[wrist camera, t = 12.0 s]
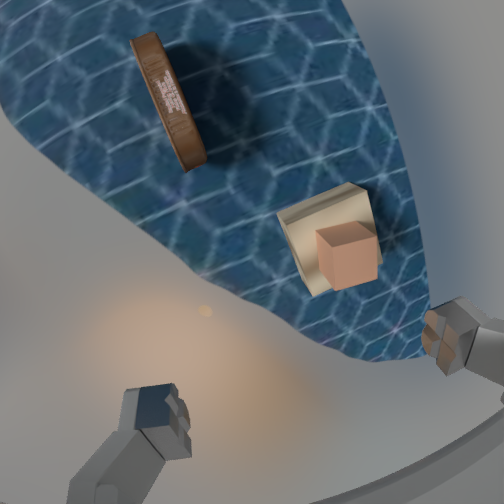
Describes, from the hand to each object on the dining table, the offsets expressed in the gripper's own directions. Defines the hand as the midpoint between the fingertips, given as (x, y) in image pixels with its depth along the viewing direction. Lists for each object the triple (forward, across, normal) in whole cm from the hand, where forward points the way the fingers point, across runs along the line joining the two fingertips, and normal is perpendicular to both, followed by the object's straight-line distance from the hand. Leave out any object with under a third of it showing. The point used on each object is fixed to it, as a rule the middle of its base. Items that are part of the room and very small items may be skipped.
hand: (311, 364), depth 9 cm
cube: (+24, -11, +9) cm, 28 cm away
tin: (+29, +4, -10) cm, 31 cm away
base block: (+30, -11, +9) cm, 33 cm away
